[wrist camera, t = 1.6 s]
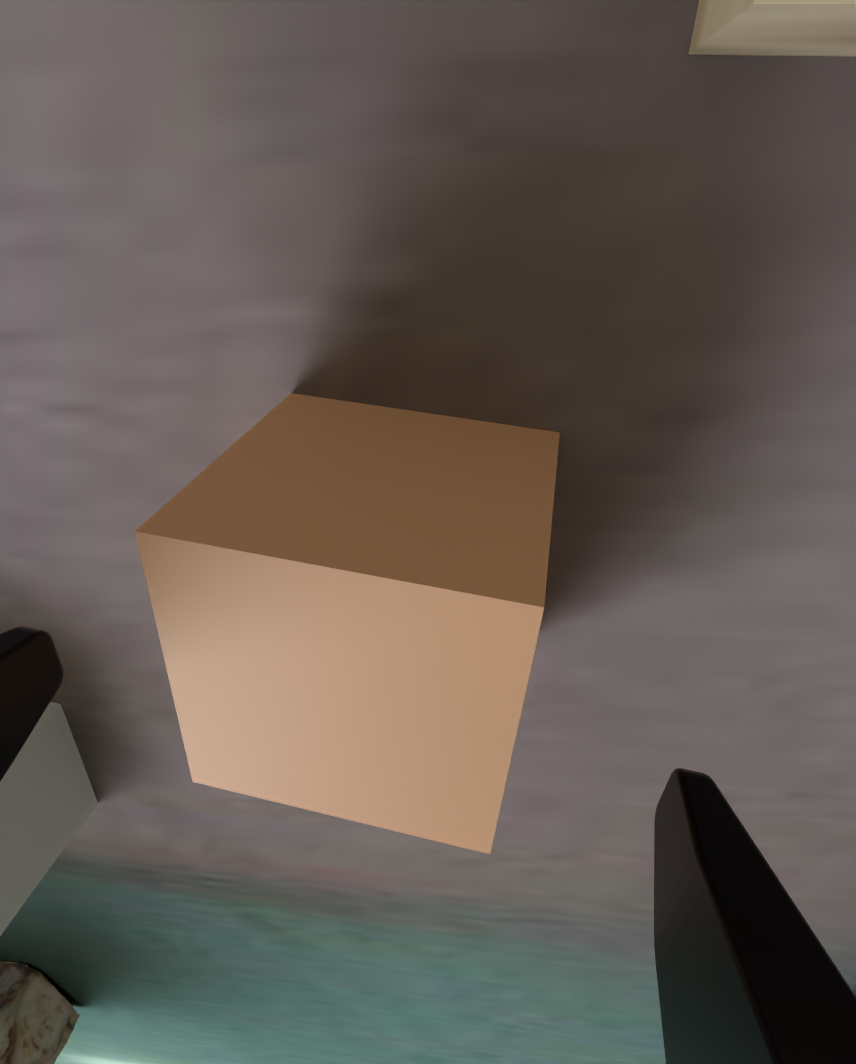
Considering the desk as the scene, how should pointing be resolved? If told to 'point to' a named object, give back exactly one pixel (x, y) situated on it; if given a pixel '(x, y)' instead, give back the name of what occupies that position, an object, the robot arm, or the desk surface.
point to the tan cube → (358, 611)
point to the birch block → (775, 28)
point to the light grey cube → (40, 808)
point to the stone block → (31, 1016)
